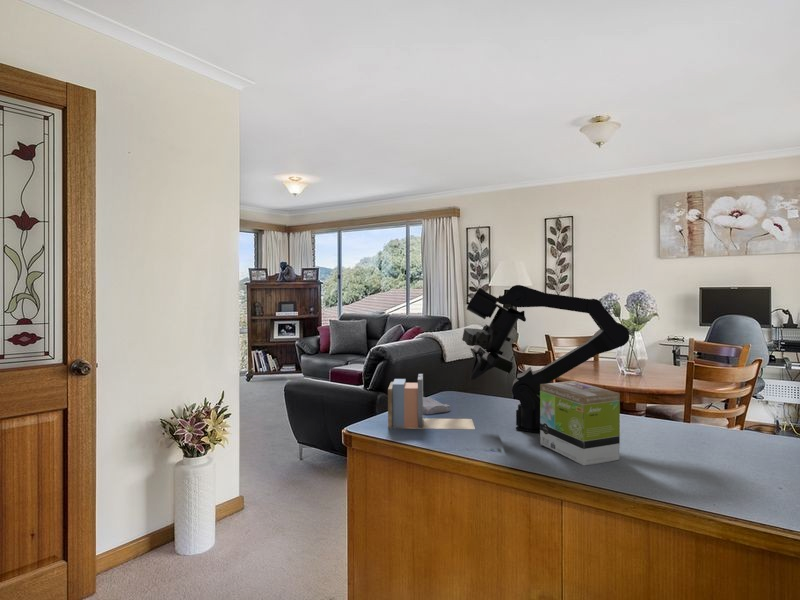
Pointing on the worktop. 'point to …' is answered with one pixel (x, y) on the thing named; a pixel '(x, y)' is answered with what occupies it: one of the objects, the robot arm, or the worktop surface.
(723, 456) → the worktop surface
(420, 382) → the grey flat rectangular panel
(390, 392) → the wooden book rack
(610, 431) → the tea box
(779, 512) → the worktop surface
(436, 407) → the stone block
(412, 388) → the book
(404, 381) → the book
